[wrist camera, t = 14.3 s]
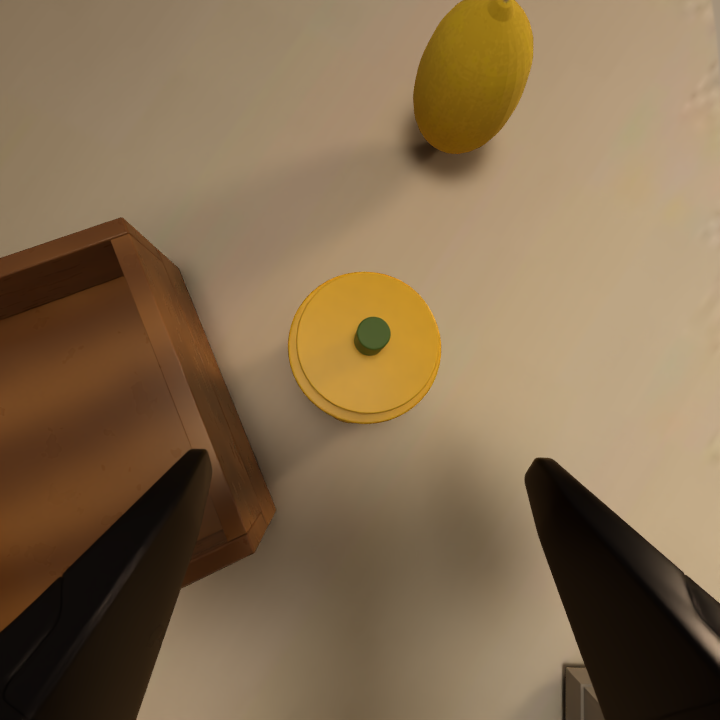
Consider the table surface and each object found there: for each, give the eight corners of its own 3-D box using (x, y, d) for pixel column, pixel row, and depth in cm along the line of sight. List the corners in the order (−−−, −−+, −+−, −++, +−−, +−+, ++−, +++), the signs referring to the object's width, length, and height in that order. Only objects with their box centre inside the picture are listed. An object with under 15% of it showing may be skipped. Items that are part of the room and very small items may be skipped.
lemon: (446, 199, 22) (513, 82, 14) (383, 138, 22) (413, -10, 14) (502, 144, 23) (594, 6, 15) (440, 87, 23) (498, -80, 15)
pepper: (393, 431, 20) (445, 452, 11) (286, 404, 20) (250, 403, 11) (417, 327, 21) (484, 269, 12) (315, 299, 20) (305, 219, 12)
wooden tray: (276, 510, 19) (255, 553, 13) (12, 635, 17) (-137, 743, 12) (178, 267, 20) (122, 215, 15) (-79, 360, 18) (-252, 342, 13)
